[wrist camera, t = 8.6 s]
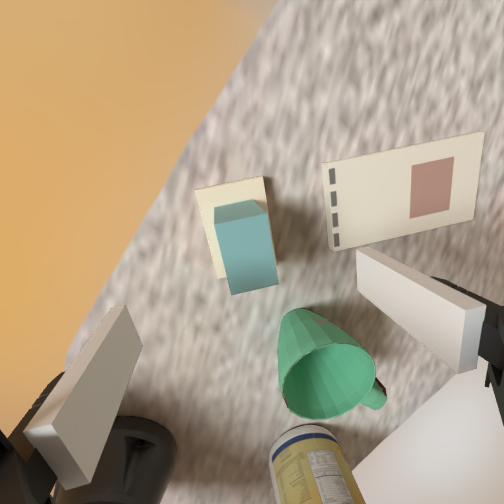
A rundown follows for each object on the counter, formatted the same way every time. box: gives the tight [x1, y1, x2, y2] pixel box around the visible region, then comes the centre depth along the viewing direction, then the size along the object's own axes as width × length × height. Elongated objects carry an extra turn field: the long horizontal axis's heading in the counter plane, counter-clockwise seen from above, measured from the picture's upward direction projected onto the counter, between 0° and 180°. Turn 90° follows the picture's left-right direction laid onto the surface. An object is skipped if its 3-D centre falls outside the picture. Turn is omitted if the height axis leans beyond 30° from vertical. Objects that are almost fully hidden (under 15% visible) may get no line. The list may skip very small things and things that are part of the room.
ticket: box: [322, 131, 485, 252], centre depth 29 cm, size 18×10×2 cm, turn 100°
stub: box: [195, 176, 279, 295], centre depth 24 cm, size 7×10×10 cm
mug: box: [277, 308, 387, 420], centre depth 30 cm, size 15×10×10 cm
